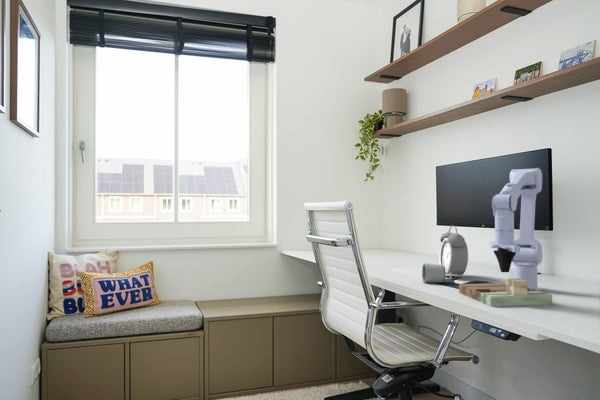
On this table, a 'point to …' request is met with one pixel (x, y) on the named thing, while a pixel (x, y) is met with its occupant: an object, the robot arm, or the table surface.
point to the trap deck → (503, 295)
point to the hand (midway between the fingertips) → (504, 272)
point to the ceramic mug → (433, 273)
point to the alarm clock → (453, 253)
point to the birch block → (516, 286)
